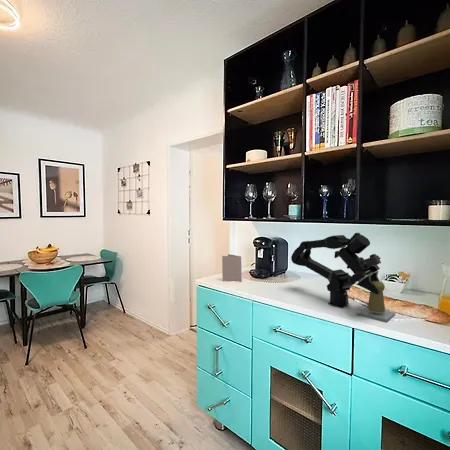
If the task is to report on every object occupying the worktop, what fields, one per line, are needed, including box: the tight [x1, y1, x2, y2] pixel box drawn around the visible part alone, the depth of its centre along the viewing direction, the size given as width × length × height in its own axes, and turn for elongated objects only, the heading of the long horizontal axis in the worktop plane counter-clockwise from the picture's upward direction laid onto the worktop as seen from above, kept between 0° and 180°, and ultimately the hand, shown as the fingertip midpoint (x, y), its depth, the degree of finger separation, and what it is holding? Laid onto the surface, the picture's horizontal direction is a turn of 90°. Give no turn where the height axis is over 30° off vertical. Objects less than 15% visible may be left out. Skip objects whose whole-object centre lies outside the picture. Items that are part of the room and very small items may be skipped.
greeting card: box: [221, 253, 243, 283], centre depth 156 cm, size 11×7×15 cm, turn 41°
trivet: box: [357, 305, 396, 323], centre depth 104 cm, size 10×10×1 cm
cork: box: [367, 280, 386, 312], centre depth 104 cm, size 6×6×11 cm
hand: (380, 292), depth 103 cm, fingers closed on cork, 5 cm apart
